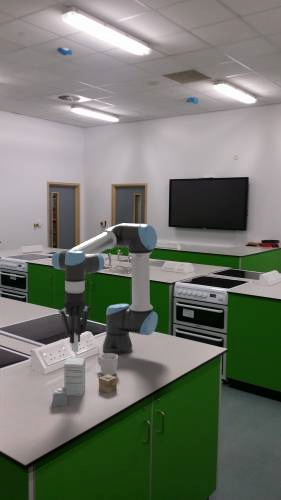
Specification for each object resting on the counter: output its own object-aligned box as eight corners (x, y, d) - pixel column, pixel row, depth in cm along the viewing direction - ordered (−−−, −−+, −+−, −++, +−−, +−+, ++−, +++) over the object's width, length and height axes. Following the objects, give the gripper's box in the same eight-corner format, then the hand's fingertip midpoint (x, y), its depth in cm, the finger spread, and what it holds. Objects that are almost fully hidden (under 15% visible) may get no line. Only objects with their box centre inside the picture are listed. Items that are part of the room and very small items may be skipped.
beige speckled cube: (107, 385, 178) (107, 373, 178) (116, 389, 175) (116, 377, 174) (98, 389, 174) (98, 377, 174) (107, 393, 171) (107, 380, 170)
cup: (91, 372, 192) (91, 354, 191) (105, 367, 198) (105, 350, 197) (108, 379, 185) (108, 360, 184) (121, 373, 191) (121, 356, 190)
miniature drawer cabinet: (67, 387, 176) (67, 357, 174) (85, 388, 176) (85, 357, 174) (63, 395, 168) (63, 363, 167) (82, 396, 168) (82, 364, 167)
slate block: (66, 399, 165) (66, 386, 164) (67, 405, 160) (67, 392, 160) (52, 400, 164) (52, 387, 163) (53, 406, 159) (53, 393, 158)
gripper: (85, 288, 174) (85, 345, 177) (55, 291, 167) (55, 350, 170) (94, 291, 168) (94, 350, 171) (63, 294, 161) (63, 356, 163)
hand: (74, 350), depth 170 cm, fingers closed
